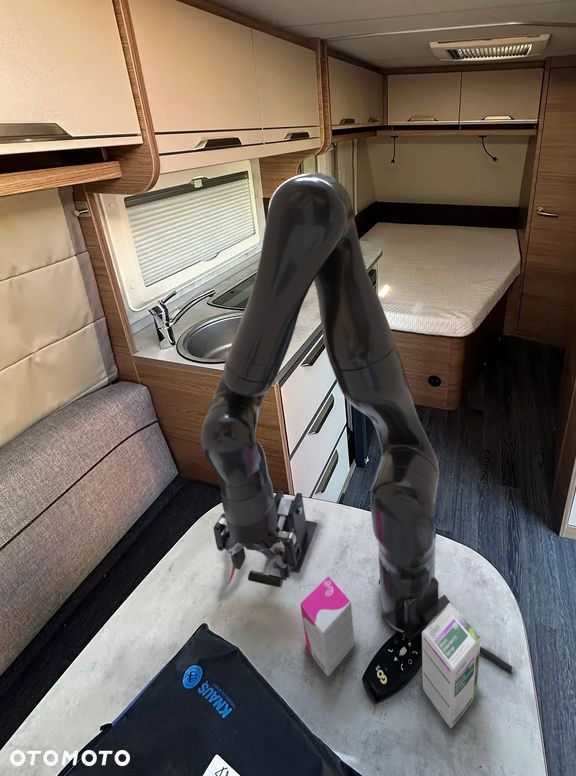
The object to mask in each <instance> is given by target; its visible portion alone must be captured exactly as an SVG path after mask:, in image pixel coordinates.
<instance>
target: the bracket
mask: <svg viewBox="0 0 576 776" xmlns="http://www.w3.org/2000/svg"><path fill="white" fill-rule="evenodd" d="M282 497H283V498H285V496H284V491H283V490H282V489H277V491H276V493H275V494H274V498H275V504H276V510H277V511H278V508H279V505H280V501H281V498H282ZM304 505H305V504H304V499H303V494H302V493H301V492H297V493H296V494H295V497H294V498H293V503H292V505H291V508H290V510H289V512H288V516H289V518H287V520H286V524H285V527H284V531H283V532H289V531H290V529H291V528H295V529H296V530H297V532H298V537H299V541H300V546H301V550H302V552H301V555H300V557H299V560H298V562H297V565H296V567H295V568H293V569H292V571H291V573H296V574H300V572H301V569H302V567H303V564H304V562H305V558H306V555H307V554H308V550H309V547H310V546H311V542H312V539H313V538H314V537H313V536H314V534H315V531H316V528H317V526H318V522H316V521H310V520H307V518H306V512H305V506H304ZM279 519H280V516H279V515H278V514H277V525H278V522H279ZM283 554H284V553H283V552H282V551H280V556H281V557H282V556H283ZM266 562H267V560H266V561H265V563H264V567H265V566H266ZM273 569H278V570H279V565H278V564H277V563H276V562H274V565H273Z"/></svg>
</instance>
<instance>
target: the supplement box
mask: <svg viewBox="0 0 576 776" xmlns="http://www.w3.org/2000/svg"><path fill="white" fill-rule="evenodd" d="M300 611H301V616H302V624H303V633H304V638H305V645H306V648H307V650H308V652H309V653H310V655H311V656H312V657H313V659H314V660H315V662H316V663H317V665H318V666H319V668H321V670H322V671H323V672H324V674H325V675H326V676H327V677H330V675H332V673H333V672H334V670H336V669H337V667H338V666H339V664H341V662H342V661H343V660H344V658H345V657H346V656H347V655H348V654H349V653H350V652H351V650H352V649H353V648H354V646H355V633H354V632H355V631H354V622H353V612H352V611H353V610H352V602H351V600H350V599H349V598H348V597H347V596H346V595H345V593H344V592H343V591H342V590H341V589H340V588H339V587H338V586H337V584H336V583H335V582H334V581H333V580H332V579H331V578H330V576H326V578H325V579H324V580H322V581H321V583H319V585H318V586H316V588H315V589H314V590H313V591H312V592H310V593H309V595H308V596H306V597H305V598H304V599H303V600H302V601H301V602H300Z"/></svg>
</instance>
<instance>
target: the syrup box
mask: <svg viewBox="0 0 576 776" xmlns="http://www.w3.org/2000/svg"><path fill="white" fill-rule="evenodd" d="M480 647H481V636H480V634H479V633H478V632H477V630H475V629H474V627H473V626H472V625H471V624H470V623H469V621H468V620H467V619H466V618H465V617H464V616H463V615H462V614H461V613H460V611H458V609H457V608H456V607H455V606H454V605H453V604H452V602H451V603H449V604H448V605H447V606H446V607H445V608H444V609H443V610H442V611H441V612H440V613H439V614H438V615H437V616H436V617H435V618H434V619H433V620H432V621H431V622H430V624H429V625H428V626H427V627H426V628H425V629H424V630H423V631H422V633H421V655H422V656H421V660H422V661H421V662H422V663H421V664H422V665H421V666H422V669H421V670H422V690H423V691H424V693H425V694H426V695H427V697H428V699H429V700H430V701H431V703H432V704H433V706H434V707H435V709H436V710H437V712H438V713H439V714H440V716H441V717H442V718H443V720H444V721H445V723H446V724H447V726H448V727H449V729H452V728H453V727H454V726H455V724H457V722H458V721H459V720H460V719H461V717H462V716H463V714H464V713H465V712H466V711H467V709H468V708H469V706H470V705H471V704H472V702H473V701H474V699H475V698H476V697H477V695H478V681H479V678H478V677H479V667H480Z"/></svg>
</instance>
